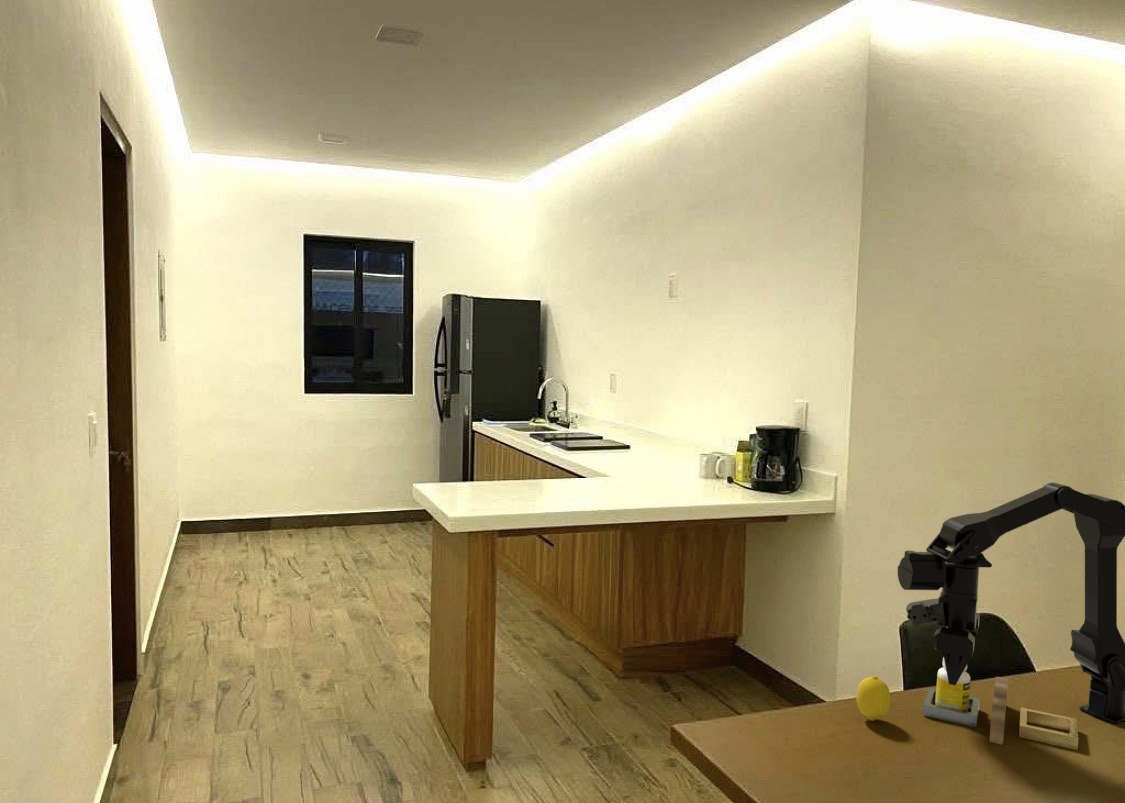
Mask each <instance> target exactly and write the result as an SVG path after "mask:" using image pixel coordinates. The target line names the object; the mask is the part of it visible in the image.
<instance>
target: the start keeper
mask: <svg viewBox="0 0 1125 803" xmlns="http://www.w3.org/2000/svg"><path fill="white" fill-rule="evenodd" d="M980 700H981V699H980V698H978V697H974V696H973V697H972V696H969V706H968V712H965V711H960V710H956V709H951V708H946V707H942V706H937V705H935V704H934V703H935V701H936V688H935V689H934V688H928V690H927V693H926V697H925V700H924V702H923V709H922V710H923V711H922V712H923V713H922V714H923V715H922V716H923V717H927V718H932V719H937V720H940V721H945V722H950V723H953V724H960V725H963V726H967V727H972V728H977V725H978V717H979V712H980ZM969 710H970V712H969Z"/></svg>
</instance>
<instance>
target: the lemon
mask: <svg viewBox="0 0 1125 803" xmlns="http://www.w3.org/2000/svg"><path fill="white" fill-rule="evenodd" d="M855 698H856V704H857V708H858V709H859V711H860V712H861V714H862V715H863V716H865V717H867V718H868V719H869V721H872V722H874V721H875V720H877V719H880V718H881V719H882V718H883V717H884V716H885V715H887V713H888V711H889V709H890V705H891V693H890V690H889V687H888V685H887V683H886V682H884V681H883V680H882V679H881V678H879V677H878V676H876V675H872V676H869V677H866V678H864V679H863V680H861V681H860V683H859V685H858V687H857V691H856V697H855Z"/></svg>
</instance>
